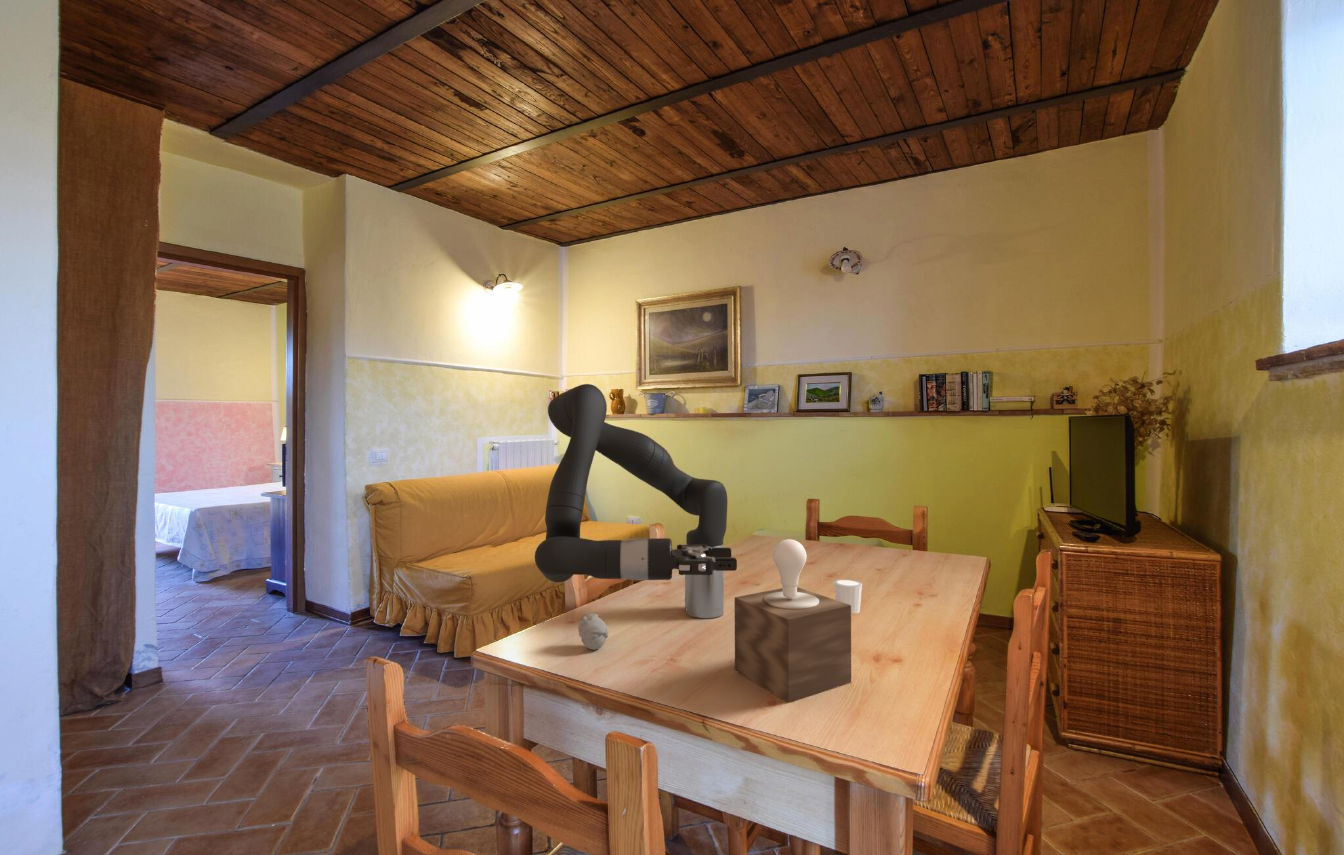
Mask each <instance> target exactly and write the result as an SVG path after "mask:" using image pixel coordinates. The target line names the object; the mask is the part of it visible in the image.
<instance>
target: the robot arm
mask: <svg viewBox="0 0 1344 855" xmlns="http://www.w3.org/2000/svg"><path fill="white" fill-rule="evenodd" d="M607 410H608V406H607V400H606V397H605V395H604V393H603V391H602V390H601V389H600V388H598V386H595V385H593V384H591V383H585V384H579V385H577V386H574V387H572V388H570V389H568V390H566V391H564V392H562V393H560V394H557V395H556V396H555V397H554V398H552V399H551V401H549V403H548V406H547V415H548V417H549V420H550V422H551V424H552V425H553V426H554V427H555V428H556V429H557V430H558V432H561V433H562V434H563V435H565V436H566V437H568V438H569V441H568V445H567V447H566V450H565V452H564V454H563V457H562V458H561V460H560V462H559V464H558V467H557V468H556V470H555V472H554V474H553V477H552V480H551V482H550V485H549V490H548V495H547V500H546V507H545V512H544V513H545V514H544V521H545V527H546V534H545V539H544V540H543V541H542V542H540V543H539V544H538V546H537V547H536V549H535V551H534V561H535V566H536V567H537V569H538V570H539V571H540V573H541V574H542V575H543V576H544V577H545V578H546V579H547V580H549V582H553V583H564V582H566V581H569V580H570V579H571V578H572V577H574V575H577V576H578V575H580V576H582V575H583V576H584V575H585V576H590V577H592V578H594V579H600V580H621V579H622V580H631V581H669V580H672V578H673V570H678V575H679V576H684V581H685V582H684V608H685V609H687V610H686V614H687V615H688V616H690V617H693V618H697V617H698V619H714V618H718V617H721V616H722V615H724V609H725V608H724V607H725V606H724V605H725V604H724V599H725V598H724V597H725V596H724V593H725V591H724V590H725V589H724V586H725V585H724V581H725V580H724V579H725V578H724V571H725V572H727V571H729V572H733V571H736V570H737V568H738V561H737V558H736V557H734V556H733V557H732V549H731V547H724V538H725V535H726V532H727V523H728V522H727V521H728V519H727V518H728V492H727V490H726V487H725V486H724V484H723V483H722V482H721V481H718V480H714V479H705V478H699V477H698V478H697V477H694V476H691V475H690V474H687V473H686V472H684V471H683V470H681V469H680V468H678V467H677V466H676V465H675V463H674V461H673V458H672V456H671V455H670V453H669V452H668V451H667V449H666V448H665V447H664V446H662V445H661V444H660V443H658V442H656V440H655V439H652V438H651V437H650V436H648V435H647V434H644V433H642V432H639V431H636V430H633V429H628V428H625V427H620V426H615V425H613V424H610V423H608V422H606V417H607V413H608V412H607ZM596 452H598V453H599V454H601V455H602V456H604V457H605V458H607V459H608V460H610V461H612V462H613V463H615V464H617V465H618V466H620V467H621V468H622V469H624V470H626V471H627V472H628V473H629V474H631V475H633V476H634V477H635V478H637V479H638V480H640V481H642V482H644V483H645V484H647V485H649V486H651V487H652V488H653V489H656V490H658V491H659V492H661V493H663V494H665V495H666V497H668V498H669V499H670V500H671V501H673V502H674V503H675V504H676V505H677V506H678V507H680V508H681V509H682V510H683V511H684V512H685V513H688V514H689V515H692V516H693V515H694V516H696V517H698V525H697V527H696V528H694V529H691V530H689V531H688V532H687V533H686V535H685V536H686V541H685V542H686V544H677V545H676V549H675V548H674V549H673V541H672V539H671V538H668V537H667V538H665V537H663V538H662V537H661V538H660V537H659V538H656V537H655V538H652V537H651V538H628V539H605V540H604V539H602V540H594V539H590V538H581V523H582V519H583V514H584V507H585V501H586V500H585V499H586V493H587V487H588V480H589V477H590V476H589V475H590V470H591V467H592V464H593V461H594V456H595V454H596ZM685 609H684V610H685Z"/></svg>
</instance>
